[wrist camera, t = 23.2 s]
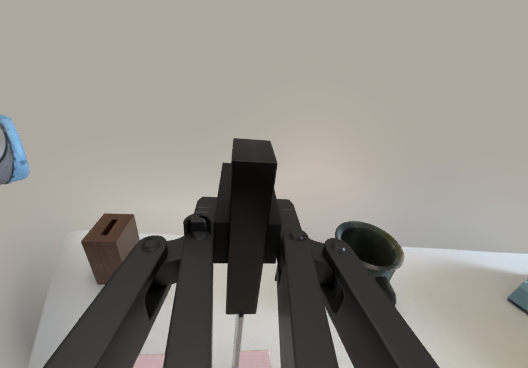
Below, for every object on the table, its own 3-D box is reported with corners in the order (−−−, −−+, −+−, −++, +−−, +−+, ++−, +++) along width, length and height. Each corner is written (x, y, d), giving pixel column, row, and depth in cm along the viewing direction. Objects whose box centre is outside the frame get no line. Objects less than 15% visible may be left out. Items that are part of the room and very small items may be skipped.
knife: (222, 406, 20) (231, 162, 9) (224, 365, 23) (233, 136, 11) (243, 405, 20) (278, 164, 9) (243, 364, 23) (270, 138, 12)
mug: (360, 264, 50) (380, 220, 44) (403, 335, 38) (437, 288, 32) (312, 265, 49) (326, 220, 43) (340, 340, 36) (364, 291, 30)
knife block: (97, 284, 40) (80, 241, 35) (116, 253, 46) (104, 213, 41) (128, 284, 41) (115, 241, 36) (142, 253, 47) (133, 214, 42)
